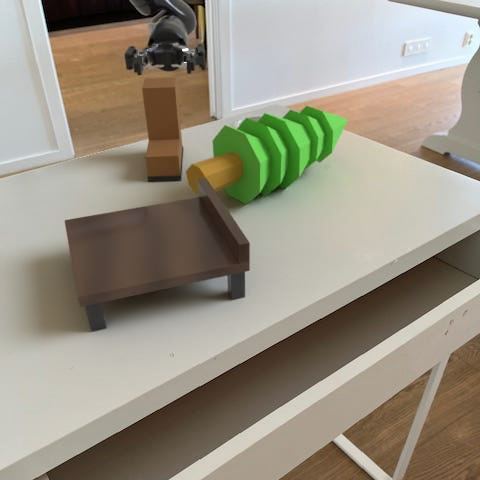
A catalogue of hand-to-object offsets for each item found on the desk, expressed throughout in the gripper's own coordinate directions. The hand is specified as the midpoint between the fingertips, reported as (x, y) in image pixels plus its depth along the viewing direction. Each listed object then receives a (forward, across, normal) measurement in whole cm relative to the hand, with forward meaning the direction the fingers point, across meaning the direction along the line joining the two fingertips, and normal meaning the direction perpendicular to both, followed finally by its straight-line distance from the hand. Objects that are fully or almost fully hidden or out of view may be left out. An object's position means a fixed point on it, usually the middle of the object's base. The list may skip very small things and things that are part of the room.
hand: (163, 68), depth 87 cm
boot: (+14, 0, +11) cm, 18 cm away
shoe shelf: (+44, 0, +11) cm, 46 cm away
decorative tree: (+22, +18, +12) cm, 30 cm away
